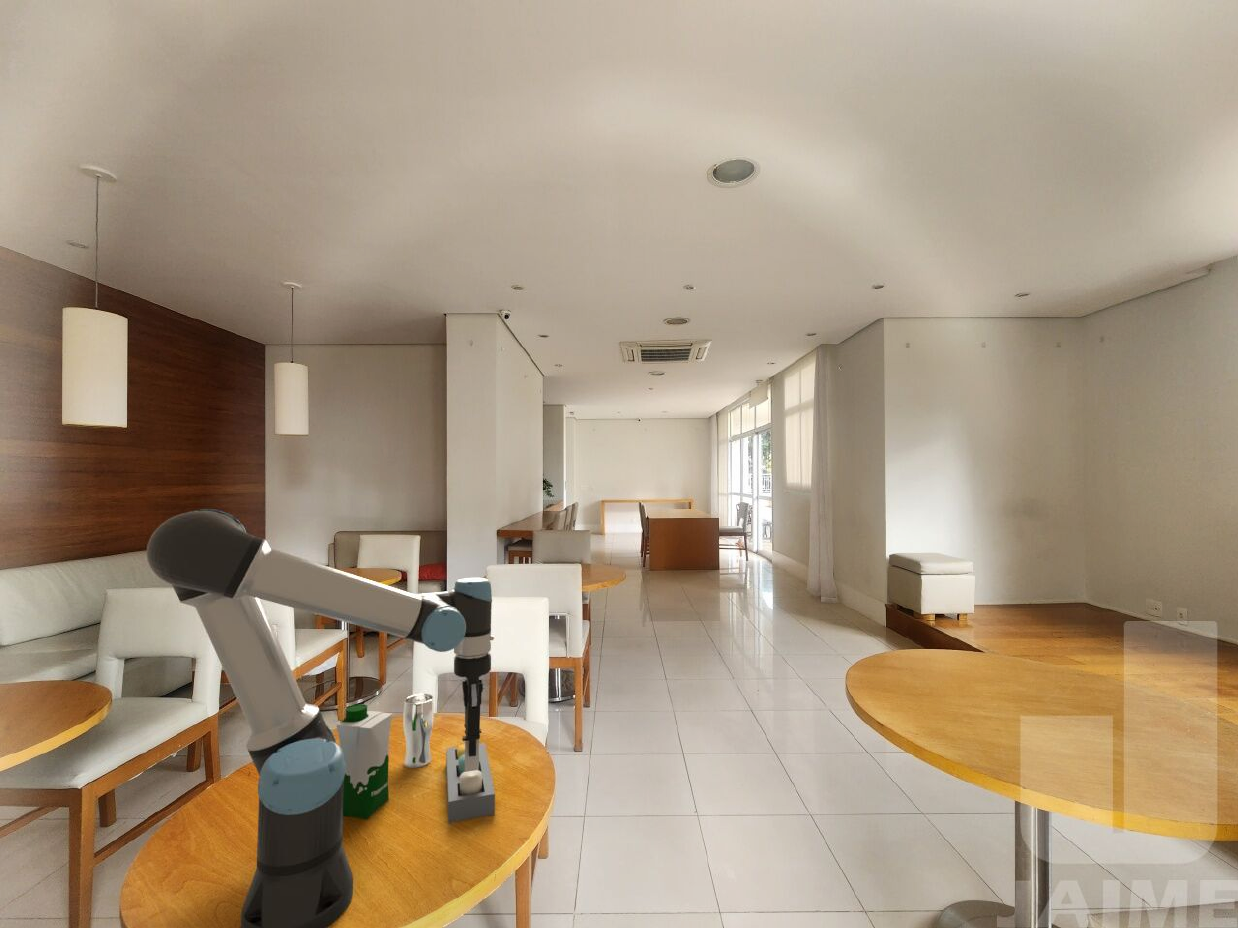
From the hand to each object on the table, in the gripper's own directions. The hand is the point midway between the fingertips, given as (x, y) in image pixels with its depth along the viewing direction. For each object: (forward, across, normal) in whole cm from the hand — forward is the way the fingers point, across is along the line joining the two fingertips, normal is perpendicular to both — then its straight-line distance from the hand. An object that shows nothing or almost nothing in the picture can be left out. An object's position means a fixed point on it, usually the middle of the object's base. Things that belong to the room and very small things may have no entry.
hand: (471, 768), depth 113 cm
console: (+8, +8, 0) cm, 11 cm away
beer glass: (+8, +24, +11) cm, 28 cm away
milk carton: (+8, +7, +21) cm, 24 cm away
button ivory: (+5, 0, 0) cm, 5 cm away
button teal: (+5, +8, 0) cm, 9 cm away
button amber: (+6, +16, 0) cm, 17 cm away
